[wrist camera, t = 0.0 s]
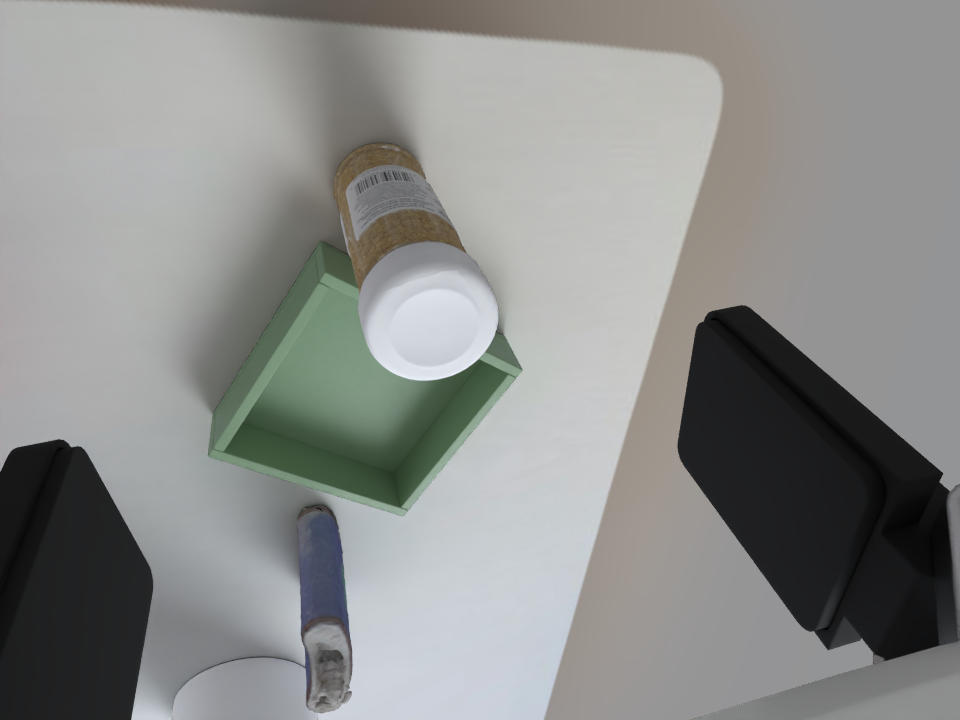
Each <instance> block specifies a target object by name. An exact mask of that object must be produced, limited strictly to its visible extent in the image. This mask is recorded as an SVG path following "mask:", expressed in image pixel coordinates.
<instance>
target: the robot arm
mask: <svg viewBox="0 0 960 720" xmlns="http://www.w3.org/2000/svg"><path fill="white" fill-rule="evenodd" d="M678 453H679V457H680V459H681V461H682V463H683V465H684V466H685V468H686V469H687V471H688V472H689V473H690V475H691V476H692V477H693V479H694V480H695V482H696V483H697V484H698V486H699V487H700V488H701V490H702V491H703V493H704V494H705V495H706V497H707V498H708V499H709V501H710V502H711V504H712V505H713V506H714V508H715V509H716V510H717V512H718V513H719V515H720V516H721V517H722V519H723V520H724V521H725V523H726V524H727V526H728V527H729V528H730V530H731V531H732V532H733V534H734V535H735V536H736V538H737V539H738V541H739V542H740V543H741V545H742V546H743V547H744V549H745V550H746V552H747V553H748V554H749V556H750V557H751V558H752V560H753V561H754V563H755V564H756V566H757V567H758V568H759V570H760V571H761V572H762V574H763V575H764V576H765V578H766V579H767V581H768V582H769V583H770V585H771V586H772V587H773V589H774V590H775V592H776V593H777V594H778V595H779V597H780V598H781V600H782V601H783V603H784V604H785V605H786V607H787V608H788V610H789V611H790V612H791V614H792V615H793V616H794V618H795V619H796V621H797V622H798V623H799V624H800V625H801V626H802V627H803V628H804V629H806V630H807V631H814V632H815V633H816V635H817V636H818V637H819V638H820V640H821V641H822V643H823V644H824V645H825V647H826V648H827V649H828V650H830V649H834V648H837V647H840V646H843V645H847V644H850V643H853V642H856V641H860V640H861V638H862V639H863V640H864V642H865V643H866V644H867V645H868V647H869V648H870V649H871V650H872V651H873V665H870V666H866V667H863V668H860V669H856V670H852V671H849V672H845V673H842V674H838V675H835V676H832V677H829V678H826V679H822V680H819V681H815V682H812V683H809V684H806V685H802V686H799V687H796V688H793V689H789V690H786V691H783V692H779V693H776V694H773V695H770V696H767V697H763V698H760V699H757V700H753V701H750V702H747V703H744V704H741V705H737V706H734V707H730V708H727V709H724V710H721V711H717V712H715V713H711V714H708V715H704V716H701V717H698V718H694V719H691V720H960V484H959V485H956V486H955V487H954V488H953V489H952V490H951V492H950V491H949V490H948V489H947V488H945V487H944V486H943V485H942V484H941V483H940V482H939V481H940V479H941V477H942V475H943V473H942V472H941V471H940V470H939V469H938V468H936V467H935V466H934V465H933V464H932V463H930V462H929V461H928V460H927V459H926V458H924V456H922V455H921V454H920V453H919V452H918V451H916V450H915V449H914V448H913V447H912V446H911V445H909V444H908V443H907V442H906V441H905V440H904V439H903V438H901V437H900V436H899V435H898V434H897V433H895V432H894V431H893V430H892V429H891V428H890V427H888V426H887V425H886V424H885V423H884V422H883V421H882V420H880V419H879V418H878V417H877V416H876V415H874V414H873V413H872V412H871V411H870V410H869V409H868V408H866V407H865V406H864V405H863V404H862V403H860V402H859V401H858V400H857V399H856V398H855V397H854V396H852V395H851V394H850V393H849V392H848V391H846V390H845V389H844V388H843V387H842V386H841V385H840V384H838V383H837V382H836V381H835V380H834V379H832V378H831V377H830V376H829V375H828V374H827V373H825V372H824V371H823V370H822V369H821V368H820V367H818V366H817V365H816V364H815V363H814V362H813V361H811V360H810V359H809V358H808V357H807V356H806V355H804V354H803V353H802V352H801V351H800V350H799V349H797V348H796V347H795V346H794V345H793V344H792V343H790V342H789V341H788V340H787V339H786V338H784V337H783V336H782V335H781V334H780V333H779V332H778V331H776V330H775V329H774V328H773V327H772V326H770V325H769V324H768V323H767V322H766V321H765V320H764V319H762V318H761V317H760V316H759V315H758V314H757V313H755V312H754V311H753V310H752V309H751V308H749V307H747V306H743V305H741V306H736V307H730V308H725V309H720V310H715V311H711V312H709V313H708V314H707V316H706V317H705V320H704V322H701V323H699V324H698V326H697V329H696V332H695V338H694V344H693V351H692V357H691V363H690V370H689V376H688V382H687V388H686V394H685V400H684V407H683V414H682V420H681V425H680V431H679V438H678ZM152 594H153V578H152V573H151V569H150V567H149V564H148V563H147V561H146V559H145V557H144V555H143V554H142V552H141V550H140V548H139V546H138V545H137V543H136V541H135V539H134V537H133V536H132V534H131V532H130V530H129V528H128V527H127V525H126V523H125V521H124V519H123V518H122V516H121V514H120V512H119V510H118V509H117V507H116V505H115V503H114V501H113V500H112V498H111V496H110V494H109V492H108V490H107V489H106V487H105V485H104V483H103V481H102V480H101V478H100V476H99V474H98V472H97V471H96V469H95V467H94V465H93V463H92V462H91V460H90V458H89V456H88V454H87V453H86V451H85V450H84V449H83V448H82V447H78V446H77V447H72V448H71V447H70V445H69V444H68V443H67V442H66V441H64V440H60V439H58V440H53V441H48V442H43V443H38V444H33V445H28V446H23V447H18V448H15V449H13V450H12V451H11V452H10V454H9V455H8V457H7V459H6V461H5V463H4V466H3V468H2V470H1V472H0V720H131V717H132V711H133V705H134V699H135V693H136V687H137V682H138V676H139V670H140V664H141V658H142V652H143V646H144V640H145V635H146V629H147V623H148V617H149V611H150V605H151V599H152Z"/></svg>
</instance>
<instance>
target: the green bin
mask: <svg viewBox="0 0 960 720" xmlns="http://www.w3.org/2000/svg"><path fill="white" fill-rule="evenodd" d="M358 300H359V289H358V285H357V282H356V278H355V274H354V269H353V266H352V261H351V258H350V256H349V255H347V254H345V253H343V252H341V251H339V250H337V249H336V248H334V247H332V246H330V245H328V244H326V243H324V242H322V241H320V243H319V244H318V246H317V248H316V249H315V251H314V252H313V254H312V256H311V257H310V259H309V260H308V262H307V264H306V265H305V267H304V268H303V270H302V272H301V273H300V275H299V277H298V278H297V280H296V281H295V283H294V285H293V286H292V288H291V289H290V291H289V293H288V294H287V296H286V297H285V299H284V301H283V302H282V304H281V305H280V307H279V309H278V310H277V312H276V314H275V315H274V317H273V318H272V320H271V322H270V323H269V325H268V326H267V328H266V330H265V331H264V333H263V334H262V336H261V338H260V339H259V341H258V342H257V344H256V346H255V347H254V349H253V351H252V352H251V354H250V355H249V357H248V359H247V360H246V362H245V363H244V365H243V367H242V368H241V370H240V371H239V373H238V375H237V376H236V378H235V379H234V381H233V383H232V384H231V386H230V388H229V389H228V391H227V392H226V394H225V396H224V397H223V399H222V400H221V402H220V404H219V405H218V407H217V408H216V410H215V412H214V413H213V415H212V424H211V433H210V442H209V451H208V456H209V457H211V458H214V459H218V460H221V461H224V462H228V463H231V464H234V465H237V466H241V467H244V468H247V469H250V470H254V471H257V472H260V473H263V474H267V475H270V476H273V477H276V478H280V479H283V480H286V481H290V482H293V483H296V484H299V485H303V486H306V487H309V488H312V489H316V490H319V491H322V492H325V493H329V494H332V495H335V496H338V497H342V498H345V499H348V500H351V501H355V502H358V503H361V504H365V505H368V506H371V507H374V508H378V509H381V510H384V511H387V512H391V513H394V514H397V515H400V516H404V515H405V514H406V512H407V511H408V510H409V509H410V508H411V506H412V505H413V504H414V503H415V502H416V500H417V499H418V498H419V497H420V495H421V494H422V493H423V492H424V491H425V489H426V488H427V487H428V486H429V484H430V483H431V482H432V481H433V479H434V478H435V477H436V476H437V475H438V473H439V472H440V471H441V470H442V468H443V467H444V466H445V465H446V464H447V462H448V461H449V460H450V459H451V457H452V456H453V455H454V454H455V453H456V451H457V450H458V449H459V448H460V446H461V445H462V444H463V443H464V441H465V440H466V439H467V438H468V437H469V435H470V434H471V433H472V432H473V430H474V429H475V428H476V427H477V426H478V424H479V423H480V422H481V421H482V419H483V418H484V417H485V416H486V415H487V413H488V412H489V411H490V410H491V408H492V407H493V406H494V405H495V404H496V402H497V401H498V400H499V399H500V397H501V396H502V395H503V394H504V392H505V391H506V390H507V389H508V388H509V386H510V385H511V384H512V383H513V381H514V380H515V379H516V377H517V376H518V375H519V374H520V373H521V372H522V368H521V366H520V364H519V362H518V360H517V358H516V356H515V355H514V353H513V351H512V349H511V347H510V345H509V343H508V342H507V339H506V337H505V336H503V335H501V334H499V333H497V332H495V335H494V338H493V340H492V342H491V344H490V345H489V347H488V348H487V350H486V351H485V352H484V354H483V355H482V356H481V357H480V358H479V359H478V360H477V361H476V362H474V363H473V364H472V365H471V366H469V367H468V368H466V369H465V370H463V371H461V372H459V373H457V374H455V375H452V376H449V377H446V378H442V379H437V380H429V381H418V380H412V379H407V378H404V377H401V376H398V375H396V374H394V373H392V372H390V371H389V370H387V369H386V368H384V367H383V366H382V365H381V364H380V363H379V362H378V361H377V360H376V359H375V358H374V356H373V355H372V353H371V352H370V350H369V348H368V346H367V343H366V340H365V337H364V333H363V330H362V326H361V322H360V318H359V312H358Z"/></svg>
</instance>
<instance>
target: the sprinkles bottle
mask: <svg viewBox="0 0 960 720" xmlns="http://www.w3.org/2000/svg"><path fill="white" fill-rule="evenodd" d="M334 198H335V200H336V204H337V207H338V209H339V211H340V218H341V225H342V229H343V234H344V238H345V243H346V247H347V251H348V253H349V256H350V258H351V261H352V266H353V269H354V274H355V278H356V282H357V285H358V289H359V300H358V312H359V318H360V322H361V326H362V330H363V333H364V337H365V340H366V343H367V346H368V348H369V350H370V352H371V353H372V355H373V356H374V358H375V359H376V360H377V361H378V362H379V363H380V364H381V365H382V366H383V367H384V368H386V369H387V370H389V371H390V372H392V373H394V374H396V375H398V376H401V377H404V378H407V379H412V380H418V381H429V380H437V379H442V378H446V377H449V376H452V375H455V374H457V373H459V372H461V371H463V370H465V369H466V368H468V367H469V366H471V365H472V364H473V363H474V362H476V361H477V360H478V359H479V358H480V357H481V356H482V355H483V354H484V352H485V351H486V350H487V348H488V347H489V345H490V344H491V342H492V340H493V338H494V335H495V332H496V329H497V325H498V305H497V301H496V298H495V295H494V293H493V290H492V288H491V286H490V285H489V283H488V281H487V279H486V277H485V275H484V273H483V272H482V270H481V268H480V267H479V265H478V264H477V263H476V262H475V261H474V260H473V259H472V258H471V257H470V256H469V255H468V254H467V253H466V251H465V249H464V248H463V246H462V244H461V241H460V238H459V236H458V234H457V232H456V230H455V228H454V226H453V225H452V223H451V221H450V219H449V218H448V216H447V214H446V212H445V210H444V209H443V207H442V205H441V203H440V201H439V200H438V198H437V196H436V194H435V193H434V191H433V189H432V187H431V186H430V184H429V183H428V182H427V181H426V177H425V174H424V172H423V169H422V167H421V165H420V164H419V163H418V162H417V160H416V159H415V158H414V157H413V156H412V155H411V154H410V153H409V152H407V151H406V150H404V149H402V148H400V147H398V146H396V145H393V144H384V143H376V144H368V145H365V146H363V147H361V148H358V149H356V150H355V151H353V152H351V153H350V154H349V155H348V156H347V157H346V158H345V160H344V161H343V162H342V163H341V165H340V167H339V169H338V171H337V173H336V175H335V178H334Z"/></svg>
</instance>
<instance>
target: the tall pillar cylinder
mask: <svg viewBox="0 0 960 720" xmlns="http://www.w3.org/2000/svg"><path fill="white" fill-rule="evenodd" d="M306 682H307V681H306V669H305V668H304V667H302V666H300V665H298V664H296V663H293V662H291V661H287V660H283V659H277V658H247V659H240V660H235V661H231V662H227V663H223V664H220V665H217V666H215V667H212V668H210V669H207V670H205V671H203V672H202V673H200V674H198V675H196V676H195V677H193V678H192V679H191V680H189V681H188V682H187V683H186V684H185V685H184V686H183V687H182V688H181V689H180V691H179V692H178V694H177V695H176V697H175V700H174V705H173V712H172V720H318V713H314V712H313V711H311V710H309V709H308V708H307V706H306V688H307V686H306Z"/></svg>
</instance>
